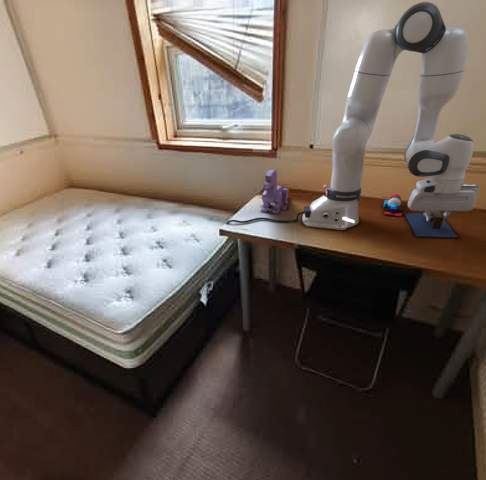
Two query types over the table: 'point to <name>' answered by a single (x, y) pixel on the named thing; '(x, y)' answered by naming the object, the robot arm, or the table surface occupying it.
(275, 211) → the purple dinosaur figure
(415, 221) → the desk mat
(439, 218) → the letter opener
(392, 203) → the toy figure
